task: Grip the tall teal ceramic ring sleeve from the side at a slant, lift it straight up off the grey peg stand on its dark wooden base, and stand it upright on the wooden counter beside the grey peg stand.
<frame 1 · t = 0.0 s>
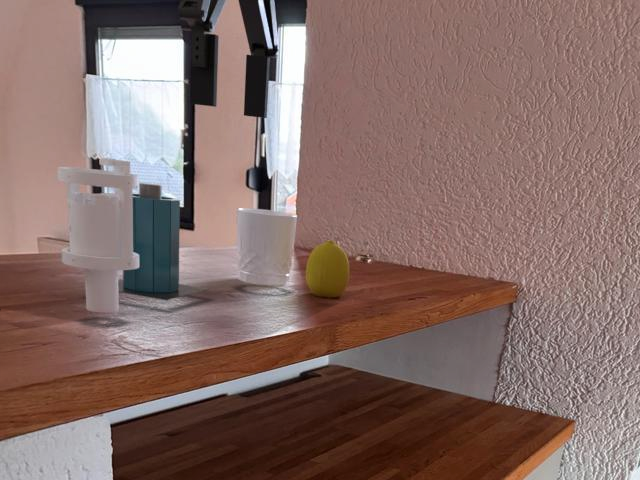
hand: (231, 111, 83), 21 cm above the table, tool pointing down, fingers open, 13 cm apart
ring sleeve: (150, 287, 85), point 1 cm above the table, touching grey peg stand
white cup: (262, 290, 100), on the table
lemon: (324, 305, 95), on the table
white stepped cylinder: (103, 322, 73), on the table
grey peg stand: (150, 297, 86), on the table
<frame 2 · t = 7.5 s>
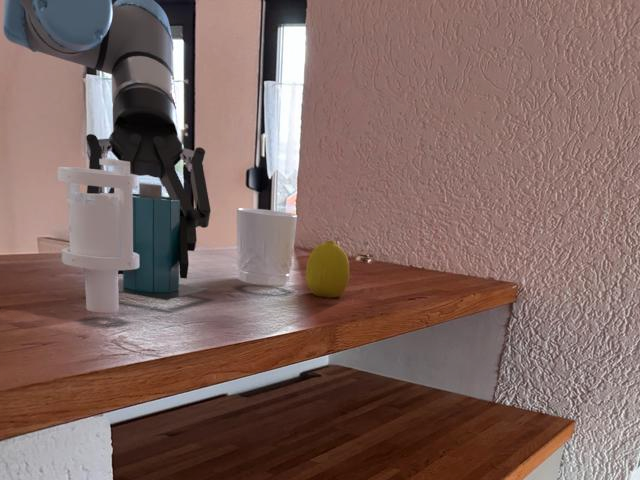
hand: (152, 268, 81), 4 cm above the table, tool tilted 45°, fingers closed on ring sleeve, 6 cm apart
ring sleeve: (150, 287, 85), point 1 cm above the table, touching gripper, grey peg stand
everything else where it was.
when the fingers open (3 cm above the table, at t = 17.3 s): ring sleeve stays where it is, on the table.
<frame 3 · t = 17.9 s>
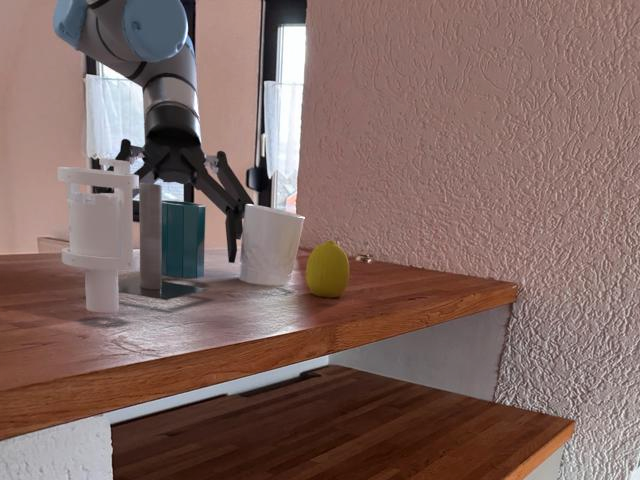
hand: (179, 252, 94), 4 cm above the table, tool tilted 45°, fingers open, 13 cm apart
ring sleeve: (179, 282, 97), on the table
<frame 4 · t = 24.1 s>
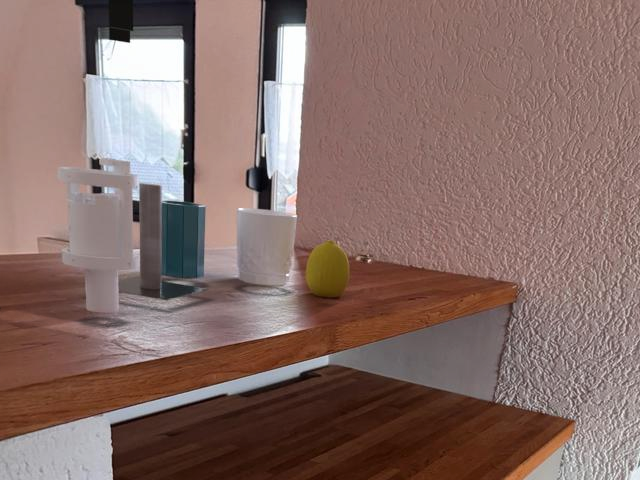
hand: (120, 35, 94), 29 cm above the table, tool pointing down, fingers open, 13 cm apart
at the end: ring sleeve inside the target area (0.6 cm from its centre), on the table; ring sleeve tilted 0°; the gripper is holding nothing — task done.
